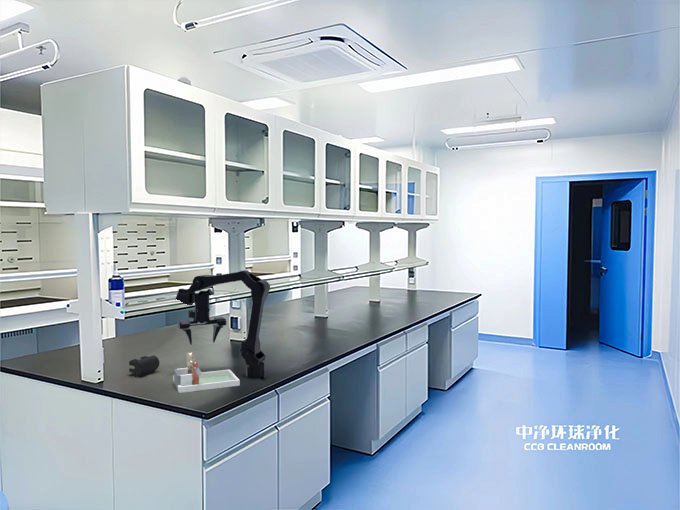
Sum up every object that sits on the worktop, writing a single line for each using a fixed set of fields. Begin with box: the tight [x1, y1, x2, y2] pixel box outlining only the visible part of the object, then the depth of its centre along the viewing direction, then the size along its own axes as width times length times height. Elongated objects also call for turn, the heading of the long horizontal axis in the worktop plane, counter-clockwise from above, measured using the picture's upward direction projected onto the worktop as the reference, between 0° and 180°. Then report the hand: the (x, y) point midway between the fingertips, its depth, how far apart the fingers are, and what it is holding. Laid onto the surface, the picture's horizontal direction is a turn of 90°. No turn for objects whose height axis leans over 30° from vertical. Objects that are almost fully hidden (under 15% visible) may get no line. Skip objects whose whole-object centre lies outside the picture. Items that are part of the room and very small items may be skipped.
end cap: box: [128, 355, 160, 378], centre depth 200 cm, size 10×7×7 cm
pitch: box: [172, 367, 241, 394], centre depth 186 cm, size 22×16×6 cm
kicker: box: [185, 351, 202, 385], centre depth 186 cm, size 3×22×9 cm, turn 26°
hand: (202, 343), depth 200 cm, fingers open, 9 cm apart
